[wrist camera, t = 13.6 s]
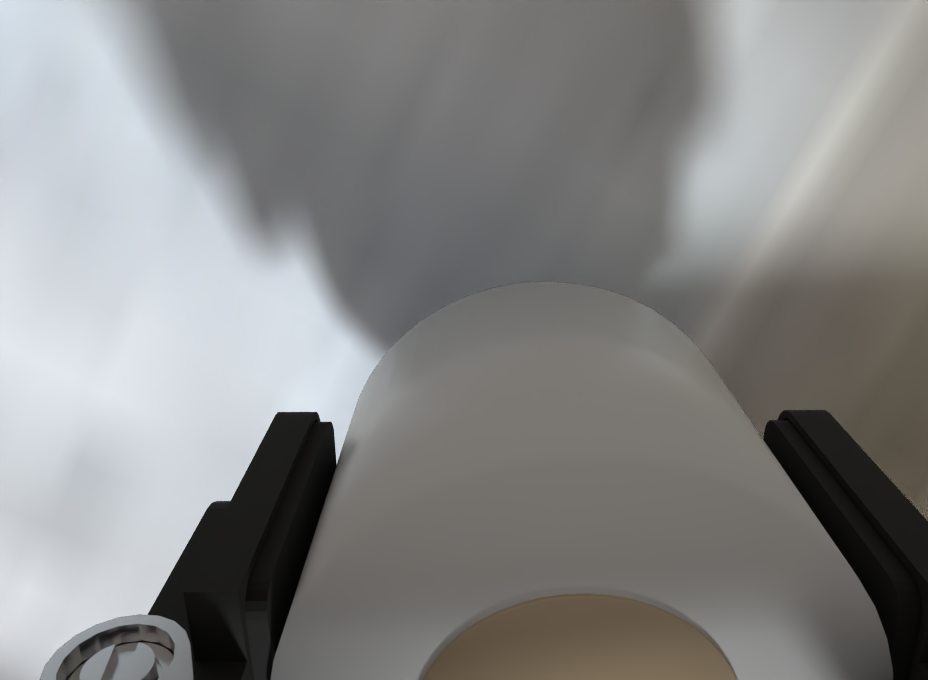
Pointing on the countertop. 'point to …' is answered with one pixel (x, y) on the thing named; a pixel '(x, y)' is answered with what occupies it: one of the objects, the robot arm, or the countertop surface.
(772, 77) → the countertop surface
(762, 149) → the countertop surface
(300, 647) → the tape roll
